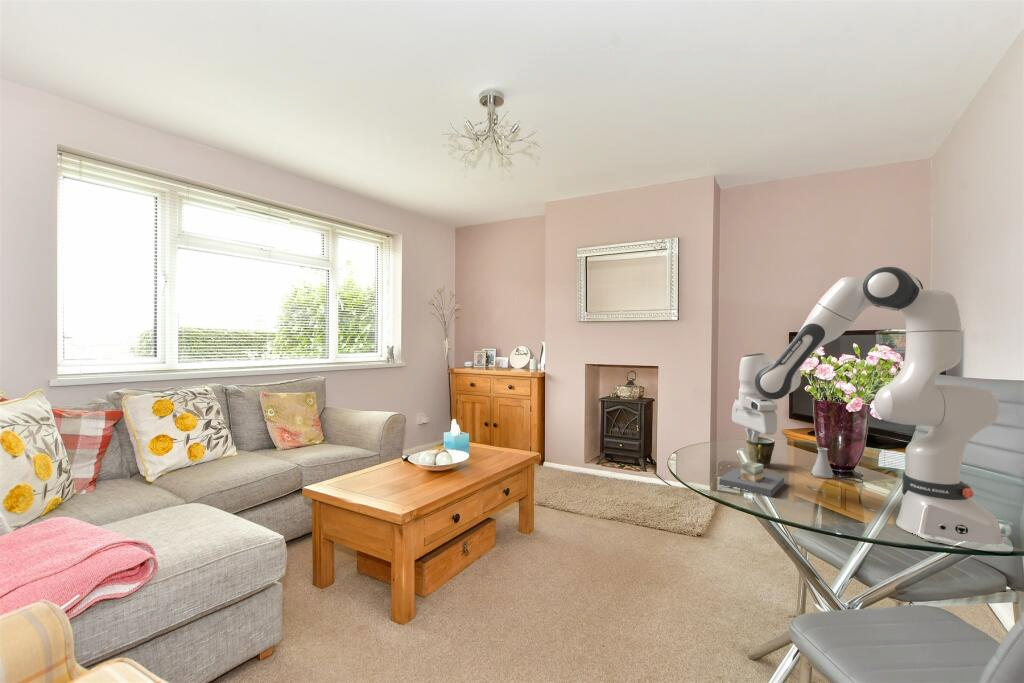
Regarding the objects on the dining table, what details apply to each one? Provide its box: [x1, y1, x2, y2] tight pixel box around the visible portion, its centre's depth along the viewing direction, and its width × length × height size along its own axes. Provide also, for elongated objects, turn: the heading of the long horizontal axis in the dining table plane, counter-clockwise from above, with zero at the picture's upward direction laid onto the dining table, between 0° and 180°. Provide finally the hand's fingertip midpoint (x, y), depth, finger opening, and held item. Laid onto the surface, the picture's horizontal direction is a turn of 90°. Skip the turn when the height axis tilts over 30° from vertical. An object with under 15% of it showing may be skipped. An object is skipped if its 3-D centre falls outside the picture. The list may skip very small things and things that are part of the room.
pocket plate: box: [718, 467, 785, 498], centre depth 163 cm, size 16×16×2 cm
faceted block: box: [740, 460, 764, 483], centre depth 163 cm, size 5×5×6 cm
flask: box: [810, 447, 835, 479], centre depth 171 cm, size 7×7×10 cm
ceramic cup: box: [745, 436, 776, 469], centre depth 183 cm, size 13×10×10 cm
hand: (752, 441), depth 162 cm, fingers closed
